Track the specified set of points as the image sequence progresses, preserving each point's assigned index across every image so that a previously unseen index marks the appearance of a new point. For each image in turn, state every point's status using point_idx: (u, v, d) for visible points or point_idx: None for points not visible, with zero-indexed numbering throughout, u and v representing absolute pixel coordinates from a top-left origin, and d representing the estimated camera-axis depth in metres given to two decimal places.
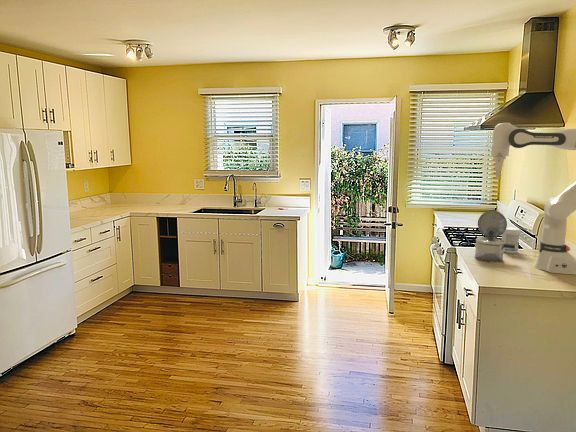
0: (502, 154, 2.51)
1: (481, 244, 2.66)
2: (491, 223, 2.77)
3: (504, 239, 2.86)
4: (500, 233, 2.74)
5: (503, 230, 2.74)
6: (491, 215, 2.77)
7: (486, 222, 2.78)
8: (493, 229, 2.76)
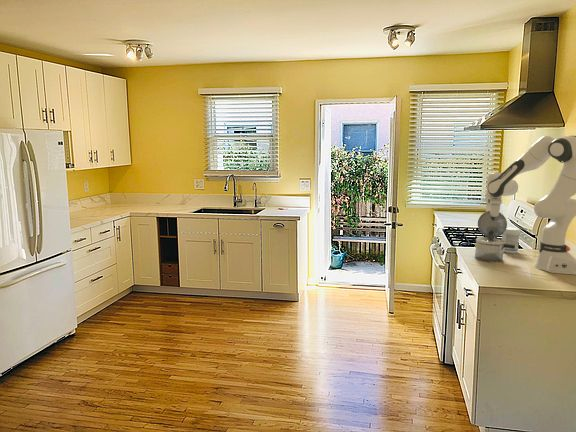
0: None
1: (481, 244, 2.66)
2: (491, 223, 2.76)
3: (504, 239, 2.86)
4: (500, 233, 2.74)
5: (503, 230, 2.74)
6: None
7: (486, 222, 2.77)
8: (493, 229, 2.76)
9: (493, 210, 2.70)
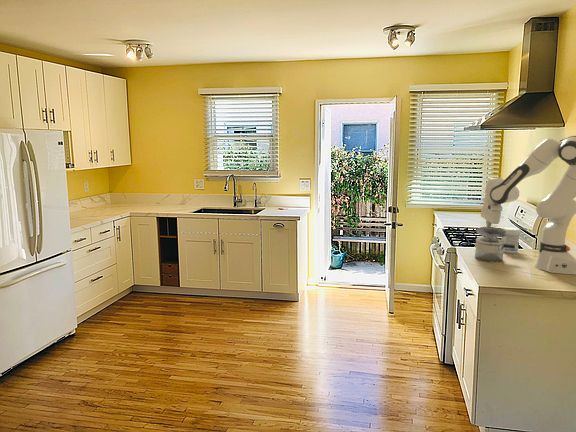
0: None
1: (481, 244, 2.66)
2: (490, 233, 2.69)
3: (504, 239, 2.86)
4: (500, 236, 2.72)
5: (503, 236, 2.70)
6: (489, 230, 2.66)
7: (485, 232, 2.70)
8: (492, 235, 2.72)
9: (494, 217, 2.61)
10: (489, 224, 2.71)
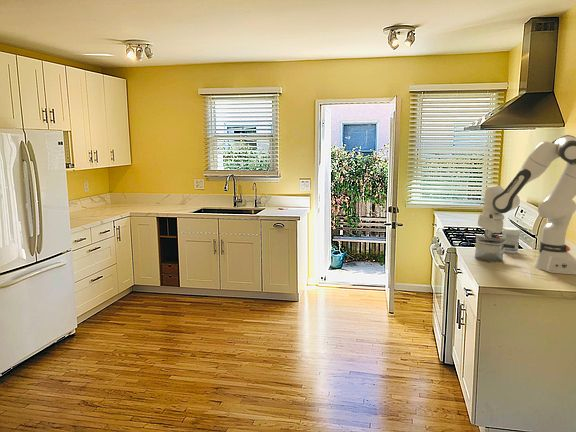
0: None
1: (481, 244, 2.66)
2: None
3: None
4: None
5: None
6: None
7: None
8: None
9: (497, 226, 2.55)
10: (490, 234, 2.64)
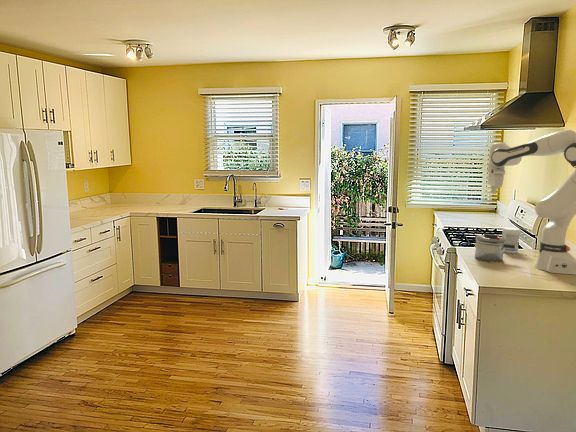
0: None
1: (481, 244, 2.66)
2: None
3: None
4: None
5: None
6: None
7: None
8: None
9: (497, 180, 2.66)
10: (494, 189, 2.74)
